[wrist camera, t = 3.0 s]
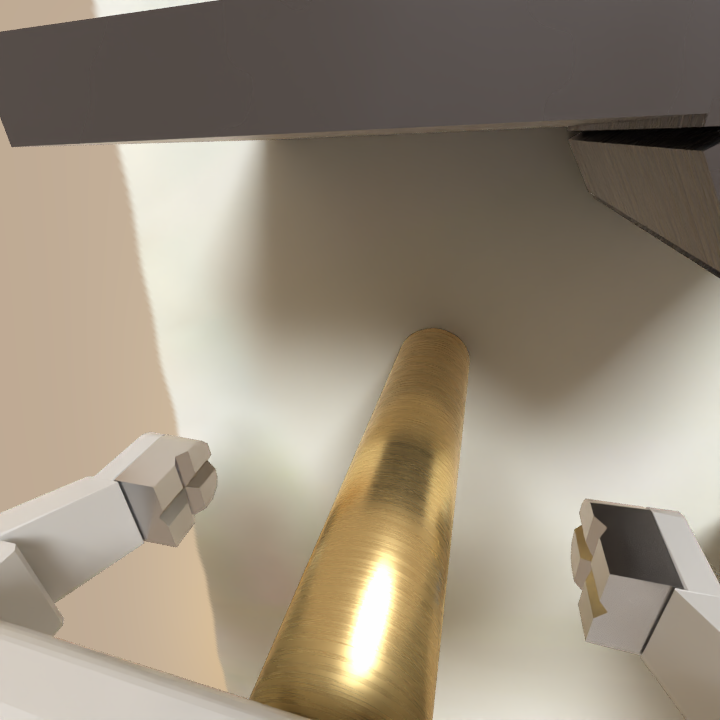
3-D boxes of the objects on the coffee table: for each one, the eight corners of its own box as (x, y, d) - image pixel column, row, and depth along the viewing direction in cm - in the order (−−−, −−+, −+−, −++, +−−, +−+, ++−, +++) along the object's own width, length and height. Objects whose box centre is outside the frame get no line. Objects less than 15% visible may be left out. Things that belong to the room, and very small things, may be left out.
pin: (466, 393, 15) (405, 985, 4) (399, 386, 15) (210, 892, 5) (472, 331, 13) (408, 933, 3) (399, 325, 14) (157, 818, 4)
